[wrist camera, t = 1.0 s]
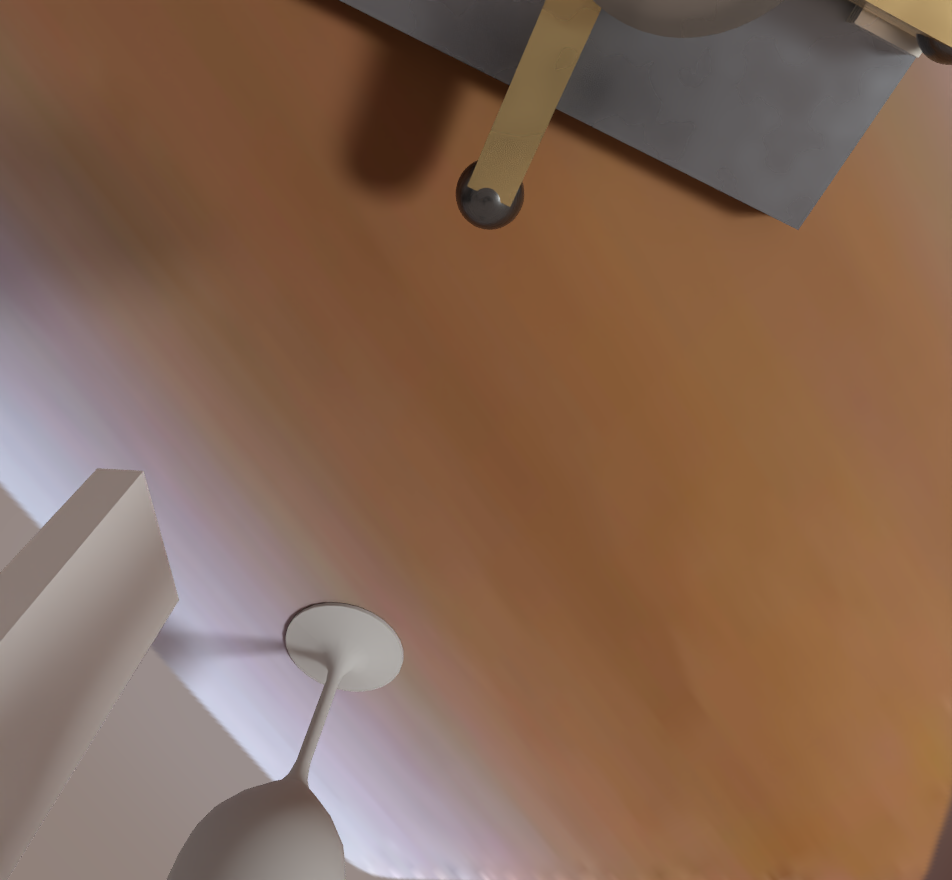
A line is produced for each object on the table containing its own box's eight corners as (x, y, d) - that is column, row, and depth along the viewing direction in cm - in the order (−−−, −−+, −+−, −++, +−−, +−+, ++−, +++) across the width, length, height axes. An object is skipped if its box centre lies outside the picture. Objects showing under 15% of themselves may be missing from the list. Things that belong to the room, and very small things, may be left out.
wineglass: (362, 707, 49) (233, 1125, 31) (261, 646, 47) (63, 1053, 30) (431, 648, 46) (330, 1081, 28) (324, 579, 44) (143, 995, 26)
